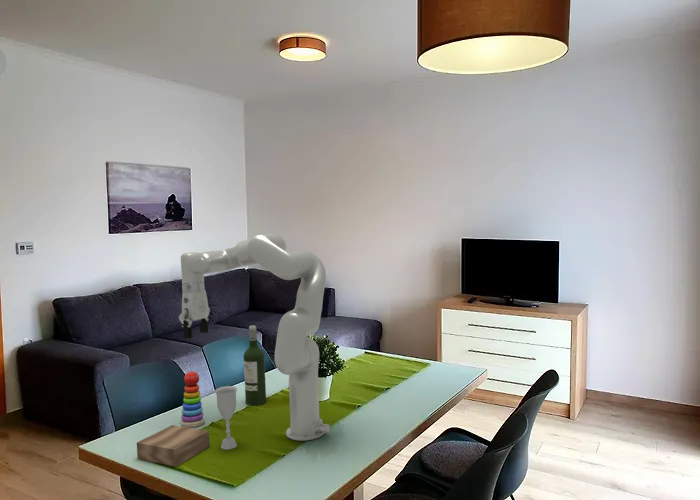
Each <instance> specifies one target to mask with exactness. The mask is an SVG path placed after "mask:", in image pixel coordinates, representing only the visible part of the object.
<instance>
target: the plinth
mask: <svg viewBox="0 0 700 500" xmlns="http://www.w3.org/2000/svg"><path fill="white" fill-rule="evenodd" d="M210 444H211V442H210V431H209V430H207V429H206V430H205V429H198V428H195V427H192V428H187V427H183V426H182V425H181V426H180V425H174V424H171V425H170V426H168V427H165V428H163V429H161V430H160V431H159V430H158V432H155V433H153V434H151V435H149V436H147V437H145V438H143V439H141V440H139V441H137V442H136V453H137V454H136V457H137V458H136V459H138V460H141V461H147V462H152V463H157V464H161V465H166V466H171V467H175V468H176V467H178V466H180V465H182V464H183V463H185V462H186V461H188V460H190V459H191V458H193V457H195V456H196V455H198V454H199V453H201V452H203V451H205V450H207V449H208V448H210V447H211V445H210Z"/></svg>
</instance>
